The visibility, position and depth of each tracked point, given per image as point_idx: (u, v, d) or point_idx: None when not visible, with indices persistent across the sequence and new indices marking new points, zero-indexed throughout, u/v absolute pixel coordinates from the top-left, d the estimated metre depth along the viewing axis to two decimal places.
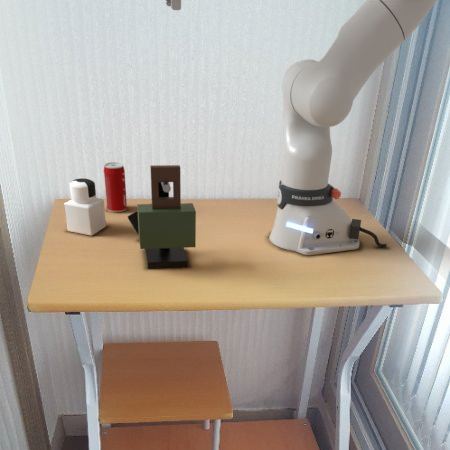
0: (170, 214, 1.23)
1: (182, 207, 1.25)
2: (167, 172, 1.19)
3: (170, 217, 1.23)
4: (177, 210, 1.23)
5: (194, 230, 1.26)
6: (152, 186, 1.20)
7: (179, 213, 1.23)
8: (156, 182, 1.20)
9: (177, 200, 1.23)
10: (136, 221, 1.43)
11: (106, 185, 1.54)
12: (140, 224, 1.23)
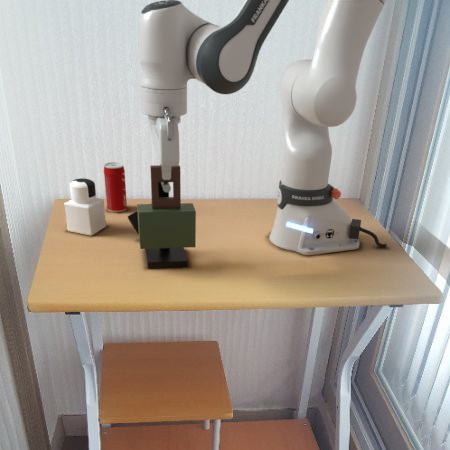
0: (170, 214, 1.23)
1: (182, 207, 1.25)
2: None
3: (170, 217, 1.23)
4: (177, 210, 1.23)
5: (194, 230, 1.26)
6: (152, 186, 1.20)
7: (179, 213, 1.23)
8: (156, 182, 1.20)
9: (177, 200, 1.23)
10: (136, 221, 1.43)
11: (106, 185, 1.54)
12: (140, 224, 1.23)
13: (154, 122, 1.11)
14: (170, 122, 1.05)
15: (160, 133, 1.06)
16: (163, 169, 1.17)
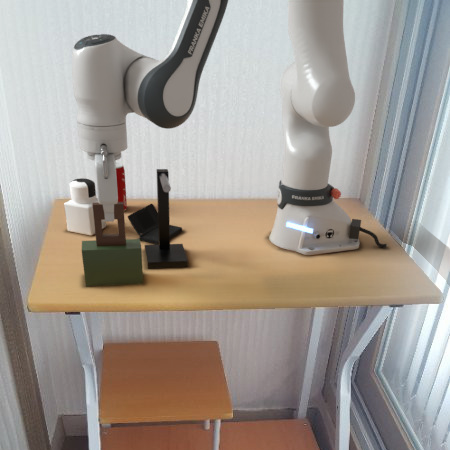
0: (114, 252, 1.19)
1: (128, 244, 1.21)
2: None
3: (115, 255, 1.20)
4: (122, 247, 1.19)
5: (141, 267, 1.22)
6: (95, 223, 1.17)
7: (124, 251, 1.19)
8: (99, 219, 1.16)
9: (122, 237, 1.19)
10: (136, 221, 1.43)
11: None
12: (84, 262, 1.19)
13: (93, 158, 1.08)
14: (105, 161, 1.01)
15: (96, 171, 1.03)
16: (105, 211, 1.11)
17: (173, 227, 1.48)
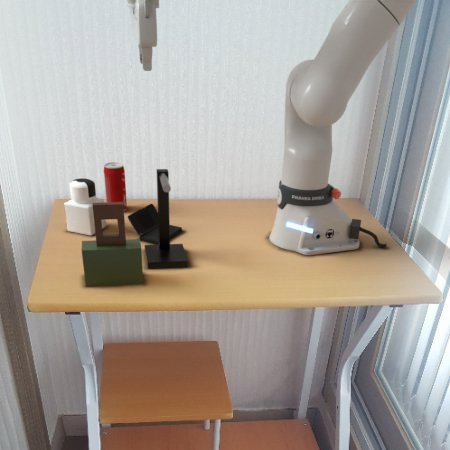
0: (114, 252, 1.19)
1: (128, 244, 1.21)
2: (110, 209, 1.16)
3: (115, 255, 1.20)
4: (122, 247, 1.19)
5: (141, 267, 1.22)
6: (95, 223, 1.17)
7: (124, 251, 1.19)
8: (99, 219, 1.16)
9: (122, 237, 1.19)
10: (136, 221, 1.43)
11: (106, 185, 1.54)
12: (84, 262, 1.19)
13: (133, 5, 1.15)
14: None
15: (138, 10, 1.10)
16: (144, 58, 1.17)
17: (173, 227, 1.48)
